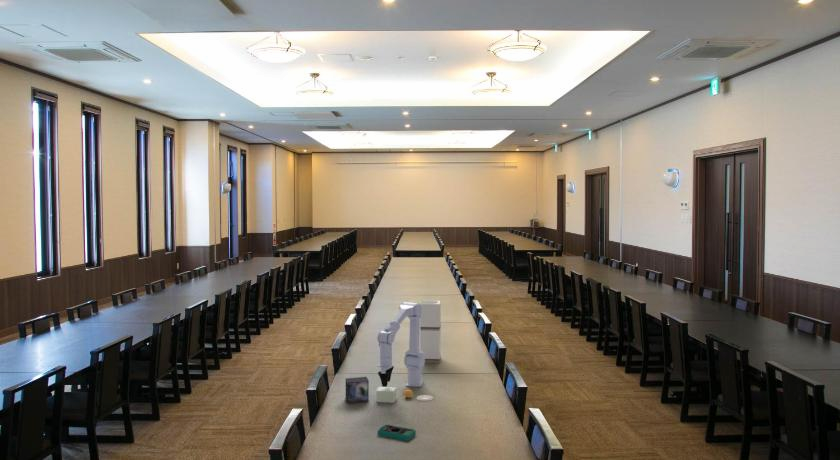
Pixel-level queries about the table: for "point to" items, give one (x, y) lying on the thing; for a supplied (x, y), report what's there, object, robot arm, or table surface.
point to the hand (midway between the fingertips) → (386, 383)
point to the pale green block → (386, 394)
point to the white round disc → (424, 398)
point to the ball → (408, 393)
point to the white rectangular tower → (431, 331)
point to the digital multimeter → (396, 432)
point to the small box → (357, 389)
